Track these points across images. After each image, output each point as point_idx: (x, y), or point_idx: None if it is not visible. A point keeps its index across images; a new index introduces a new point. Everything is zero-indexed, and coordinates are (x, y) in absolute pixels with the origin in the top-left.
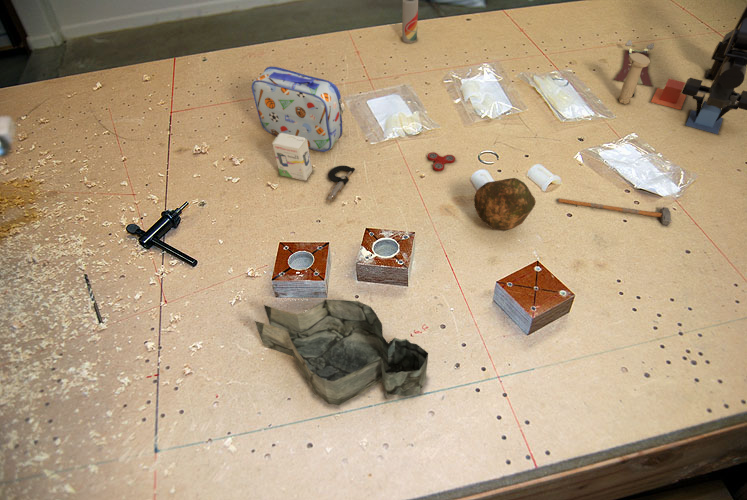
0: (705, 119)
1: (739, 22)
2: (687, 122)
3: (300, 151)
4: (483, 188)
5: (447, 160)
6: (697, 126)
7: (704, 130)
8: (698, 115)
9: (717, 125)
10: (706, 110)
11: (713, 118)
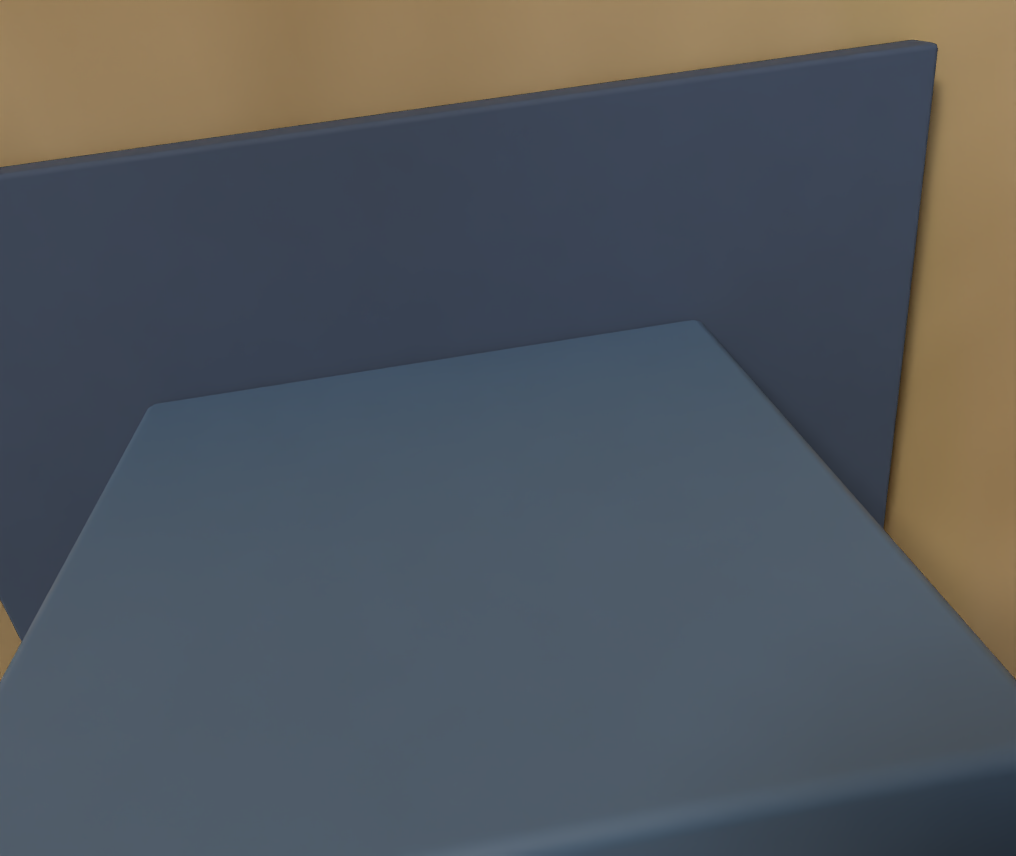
0: (466, 473)
1: None
2: (901, 203)
3: None
4: None
5: None
6: (562, 170)
7: (282, 128)
8: (819, 468)
9: None
10: (742, 784)
11: (173, 606)
